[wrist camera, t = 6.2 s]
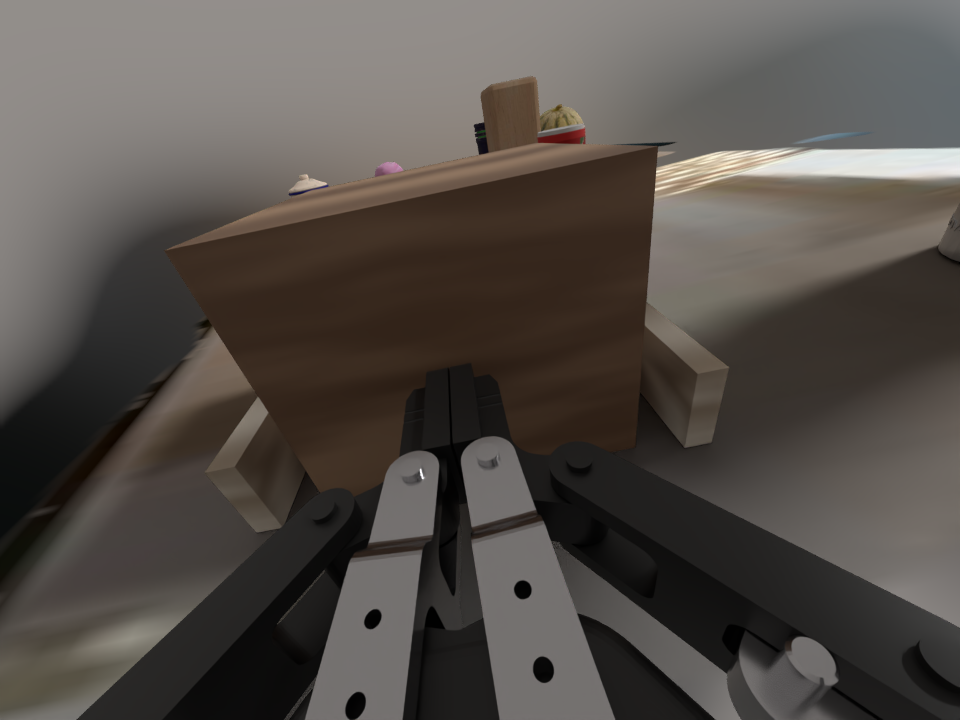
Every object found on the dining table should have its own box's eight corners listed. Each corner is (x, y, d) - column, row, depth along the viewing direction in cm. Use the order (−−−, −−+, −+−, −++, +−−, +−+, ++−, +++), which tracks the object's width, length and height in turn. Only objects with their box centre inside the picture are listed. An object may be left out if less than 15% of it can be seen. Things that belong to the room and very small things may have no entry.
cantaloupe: (563, 164, 109) (561, 104, 101) (598, 163, 98) (597, 96, 90) (522, 175, 105) (516, 113, 97) (553, 175, 93) (549, 105, 85)
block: (502, 197, 79) (487, 84, 68) (493, 192, 88) (479, 91, 77) (546, 187, 79) (538, 74, 69) (533, 183, 88) (524, 82, 77)
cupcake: (413, 192, 117) (405, 157, 112) (398, 198, 111) (388, 162, 105) (392, 195, 121) (382, 162, 116) (376, 201, 114) (365, 166, 109)
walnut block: (635, 448, 16) (657, 146, 10) (333, 512, 16) (164, 250, 10) (550, 318, 28) (536, 143, 22) (375, 356, 28) (310, 190, 22)
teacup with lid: (339, 220, 94) (321, 170, 88) (343, 224, 87) (323, 170, 81) (292, 232, 91) (270, 181, 85) (291, 237, 84) (267, 182, 77)
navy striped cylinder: (493, 169, 135) (487, 122, 127) (514, 167, 129) (508, 117, 121) (475, 174, 130) (467, 126, 122) (495, 173, 123) (488, 121, 115)
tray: (711, 442, 16) (734, 345, 13) (256, 532, 16) (188, 454, 13) (518, 226, 54) (514, 190, 51) (385, 254, 54) (374, 220, 52)
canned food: (591, 196, 64) (590, 122, 58) (546, 204, 64) (541, 132, 58) (579, 190, 70) (578, 123, 64) (539, 198, 71) (533, 132, 65)
